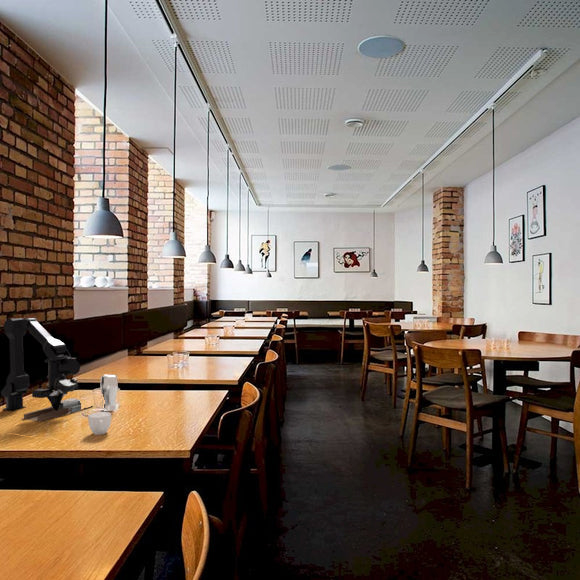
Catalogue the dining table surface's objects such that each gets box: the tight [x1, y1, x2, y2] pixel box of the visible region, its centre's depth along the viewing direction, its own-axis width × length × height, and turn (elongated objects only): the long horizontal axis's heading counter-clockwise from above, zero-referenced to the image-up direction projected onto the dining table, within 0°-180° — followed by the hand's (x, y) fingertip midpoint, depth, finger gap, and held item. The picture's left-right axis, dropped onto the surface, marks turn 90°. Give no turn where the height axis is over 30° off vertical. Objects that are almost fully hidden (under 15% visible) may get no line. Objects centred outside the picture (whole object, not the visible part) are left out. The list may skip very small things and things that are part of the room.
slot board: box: [21, 399, 82, 423], centre depth 200 cm, size 12×26×2 cm, turn 158°
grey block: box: [65, 397, 79, 408], centre depth 206 cm, size 4×4×4 cm
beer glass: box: [99, 373, 119, 412], centre depth 205 cm, size 7×7×15 cm
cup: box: [87, 411, 112, 436], centre depth 172 cm, size 8×10×7 cm
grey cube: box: [58, 399, 71, 411], centre depth 202 cm, size 4×4×4 cm
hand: (56, 410), depth 199 cm, fingers closed
